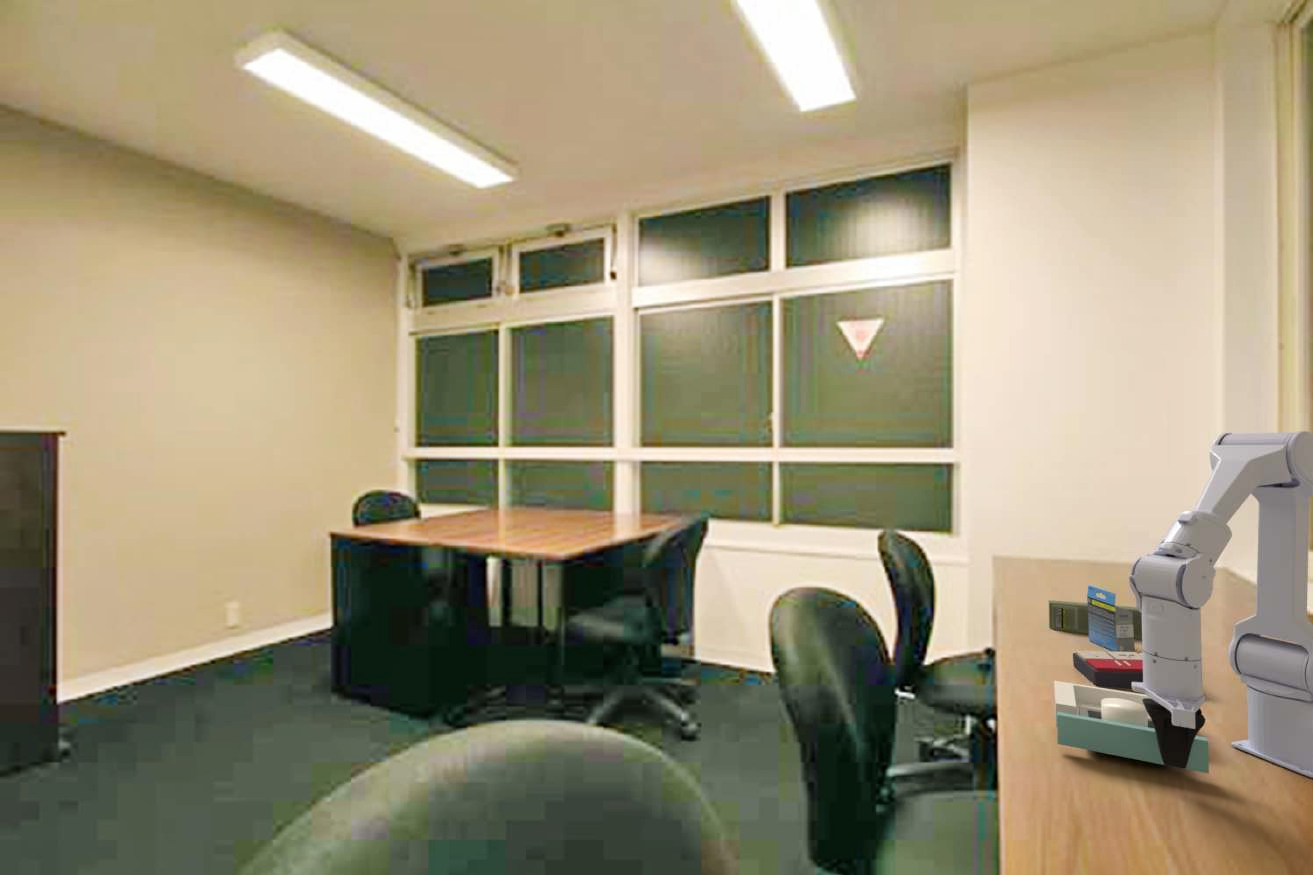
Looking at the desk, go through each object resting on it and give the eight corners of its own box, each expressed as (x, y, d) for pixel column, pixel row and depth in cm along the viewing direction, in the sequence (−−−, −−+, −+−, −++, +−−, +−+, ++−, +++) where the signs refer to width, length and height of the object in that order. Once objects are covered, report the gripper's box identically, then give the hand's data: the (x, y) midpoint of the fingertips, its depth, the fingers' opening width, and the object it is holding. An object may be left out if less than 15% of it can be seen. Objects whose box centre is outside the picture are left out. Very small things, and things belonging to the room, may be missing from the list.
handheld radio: (1048, 627, 151) (1182, 640, 140) (1050, 631, 148) (1186, 645, 137) (1048, 598, 151) (1181, 610, 139) (1049, 602, 148) (1186, 614, 136)
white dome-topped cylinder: (1157, 740, 87) (1157, 710, 87) (1127, 744, 86) (1126, 714, 86) (1121, 724, 92) (1121, 696, 92) (1092, 728, 91) (1091, 699, 91)
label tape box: (1135, 653, 130) (1134, 593, 130) (1115, 653, 130) (1114, 593, 130) (1105, 640, 139) (1104, 584, 139) (1086, 640, 139) (1085, 584, 139)
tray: (1055, 715, 97) (1055, 688, 98) (1190, 739, 89) (1189, 709, 89) (1057, 744, 88) (1057, 714, 88) (1208, 774, 80) (1208, 741, 80)
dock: (1054, 701, 105) (1054, 680, 106) (1178, 722, 97) (1177, 699, 97) (1056, 726, 96) (1055, 703, 96) (1193, 751, 88) (1192, 726, 88)
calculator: (1071, 648, 123) (1162, 650, 119) (1073, 671, 123) (1164, 673, 119) (1094, 667, 112) (1194, 669, 109) (1096, 691, 112) (1197, 695, 108)
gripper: (1124, 634, 87) (1126, 734, 87) (1139, 665, 75) (1141, 782, 74) (1191, 641, 83) (1193, 746, 83) (1218, 676, 71) (1221, 799, 71)
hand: (1173, 764), depth 79 cm, fingers closed
